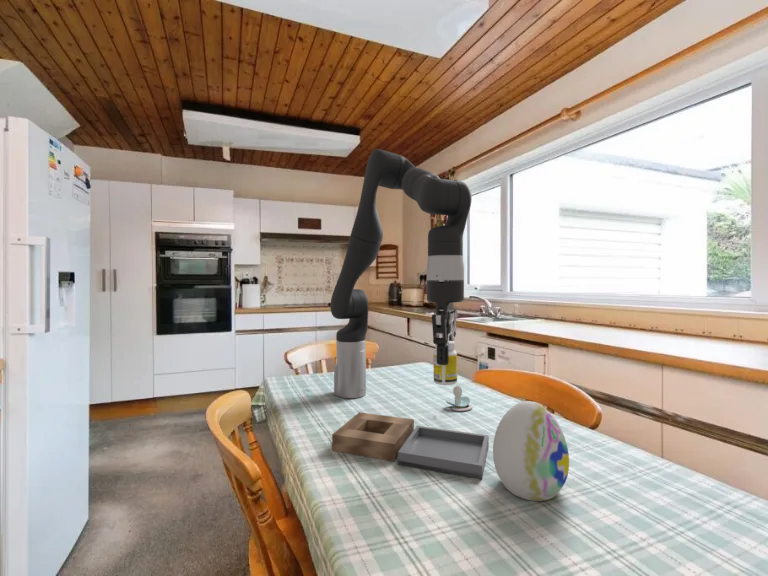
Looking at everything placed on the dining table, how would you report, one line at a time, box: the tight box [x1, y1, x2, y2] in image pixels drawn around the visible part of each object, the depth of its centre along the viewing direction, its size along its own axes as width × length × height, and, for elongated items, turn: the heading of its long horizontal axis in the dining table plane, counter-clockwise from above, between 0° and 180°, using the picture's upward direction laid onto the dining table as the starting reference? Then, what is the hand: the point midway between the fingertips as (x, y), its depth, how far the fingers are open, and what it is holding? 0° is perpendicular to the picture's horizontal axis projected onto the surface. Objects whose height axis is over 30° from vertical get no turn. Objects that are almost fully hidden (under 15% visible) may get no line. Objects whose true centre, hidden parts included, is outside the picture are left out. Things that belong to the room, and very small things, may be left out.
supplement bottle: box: [432, 340, 458, 386], centre depth 77 cm, size 5×5×8 cm
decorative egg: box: [492, 400, 570, 502], centre depth 65 cm, size 12×12×15 cm
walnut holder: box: [331, 411, 415, 462], centre depth 83 cm, size 14×14×4 cm
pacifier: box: [445, 385, 473, 412], centre depth 105 cm, size 7×6×6 cm
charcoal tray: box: [397, 425, 490, 480], centre depth 77 cm, size 16×14×2 cm
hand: (445, 361), depth 77 cm, fingers closed on supplement bottle, 4 cm apart
